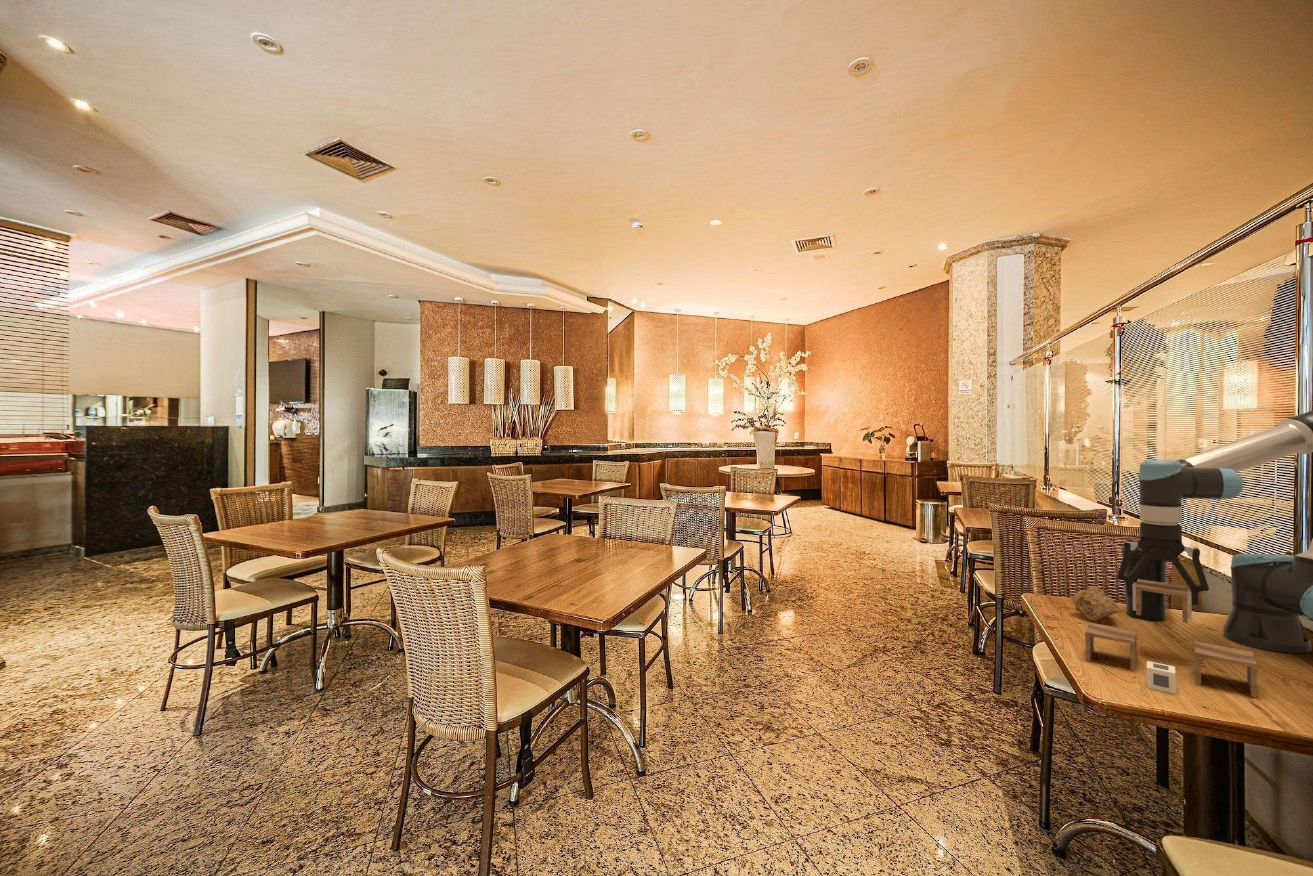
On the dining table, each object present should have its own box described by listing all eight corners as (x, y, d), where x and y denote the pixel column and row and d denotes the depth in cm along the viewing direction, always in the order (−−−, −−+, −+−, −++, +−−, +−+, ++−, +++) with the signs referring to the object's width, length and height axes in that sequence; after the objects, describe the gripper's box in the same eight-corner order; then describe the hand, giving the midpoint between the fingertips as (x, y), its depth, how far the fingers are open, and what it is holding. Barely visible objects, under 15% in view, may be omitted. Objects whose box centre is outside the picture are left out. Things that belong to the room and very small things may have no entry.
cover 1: (1089, 649, 137) (1089, 622, 137) (1136, 659, 131) (1136, 630, 131) (1085, 660, 130) (1085, 632, 130) (1135, 671, 124) (1134, 641, 124)
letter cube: (1147, 681, 120) (1147, 660, 120) (1175, 687, 116) (1175, 666, 116) (1147, 688, 116) (1146, 667, 116) (1175, 694, 113) (1175, 673, 113)
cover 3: (1194, 671, 124) (1194, 640, 124) (1252, 682, 117) (1251, 651, 117) (1195, 684, 117) (1195, 652, 117) (1257, 697, 111) (1256, 664, 111)
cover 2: (1137, 606, 138) (1137, 579, 138) (1186, 613, 132) (1186, 585, 132) (1136, 614, 132) (1135, 586, 132) (1187, 623, 125) (1187, 593, 125)
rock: (1066, 613, 164) (1066, 581, 164) (1098, 612, 165) (1097, 580, 165) (1101, 627, 152) (1101, 592, 152) (1135, 626, 153) (1134, 591, 153)
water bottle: (1178, 623, 154) (1176, 544, 154) (1137, 621, 156) (1135, 543, 156) (1153, 612, 164) (1151, 537, 164) (1115, 610, 166) (1113, 537, 166)
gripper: (1223, 525, 127) (1224, 619, 127) (1104, 516, 142) (1105, 601, 142) (1225, 529, 121) (1226, 628, 121) (1101, 520, 137) (1102, 607, 137)
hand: (1161, 613), depth 132 cm, fingers closed on cover 2, 9 cm apart
